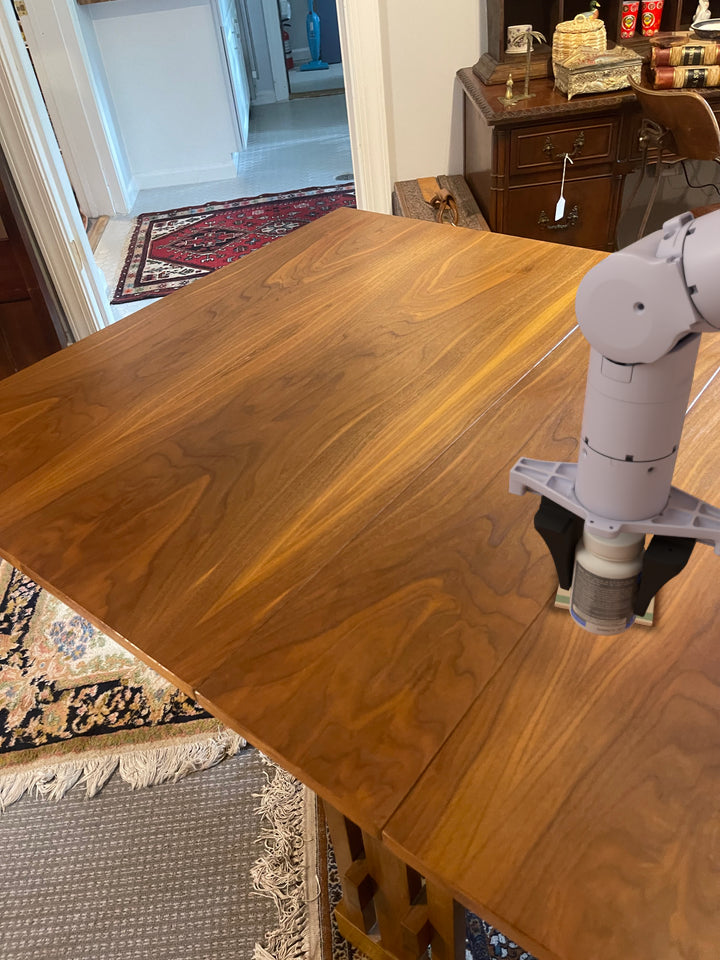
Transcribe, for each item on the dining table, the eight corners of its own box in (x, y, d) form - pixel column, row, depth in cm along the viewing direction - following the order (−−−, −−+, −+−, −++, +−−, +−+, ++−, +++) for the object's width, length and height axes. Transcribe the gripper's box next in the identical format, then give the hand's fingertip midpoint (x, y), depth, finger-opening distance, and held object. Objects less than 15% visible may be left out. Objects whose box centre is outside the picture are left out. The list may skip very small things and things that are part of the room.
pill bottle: (643, 636, 52) (662, 548, 47) (576, 639, 52) (587, 552, 47) (625, 588, 56) (641, 501, 51) (562, 591, 56) (571, 506, 51)
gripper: (491, 439, 46) (487, 593, 54) (745, 506, 39) (696, 672, 47) (536, 387, 50) (526, 537, 58) (770, 439, 43) (721, 601, 51)
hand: (604, 593), depth 53 cm, fingers closed on pill bottle, 5 cm apart
